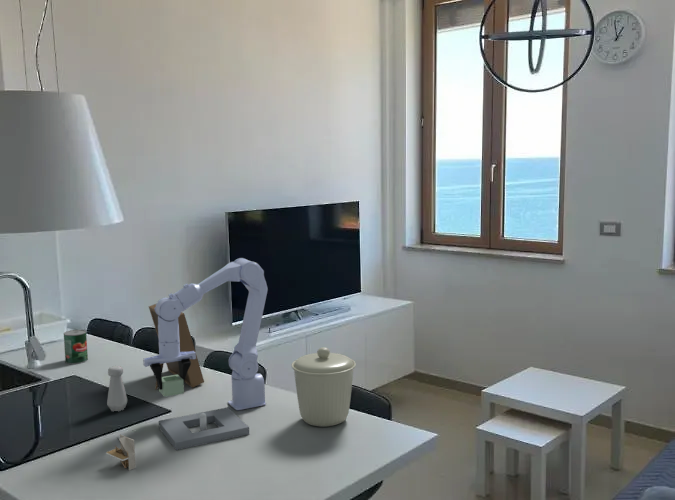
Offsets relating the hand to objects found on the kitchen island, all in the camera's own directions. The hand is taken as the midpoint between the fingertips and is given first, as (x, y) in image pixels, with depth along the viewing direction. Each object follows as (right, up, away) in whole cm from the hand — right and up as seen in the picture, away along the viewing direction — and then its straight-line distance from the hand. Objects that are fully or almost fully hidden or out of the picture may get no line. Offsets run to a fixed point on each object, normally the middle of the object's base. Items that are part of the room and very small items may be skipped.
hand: (171, 386), depth 193 cm
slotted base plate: (+11, -10, -8) cm, 17 cm away
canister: (+44, -9, -1) cm, 45 cm away
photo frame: (-9, -5, +35) cm, 36 cm away
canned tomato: (-50, -3, +59) cm, 77 cm away
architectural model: (-4, -14, -29) cm, 32 cm away
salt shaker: (-18, -9, +9) cm, 22 cm away
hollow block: (0, -2, 0) cm, 2 cm away
